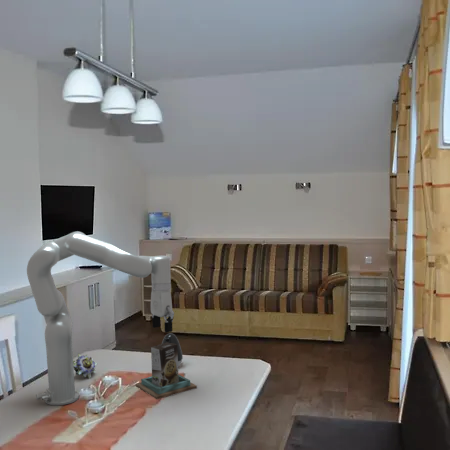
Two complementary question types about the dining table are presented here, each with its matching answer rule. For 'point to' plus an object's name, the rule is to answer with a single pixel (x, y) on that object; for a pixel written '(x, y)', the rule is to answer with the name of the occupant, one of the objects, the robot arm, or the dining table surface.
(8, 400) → the dining table surface
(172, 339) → the dark grey speaker
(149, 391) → the board
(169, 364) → the coffee box
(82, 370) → the passion flower
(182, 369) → the dining table surface
